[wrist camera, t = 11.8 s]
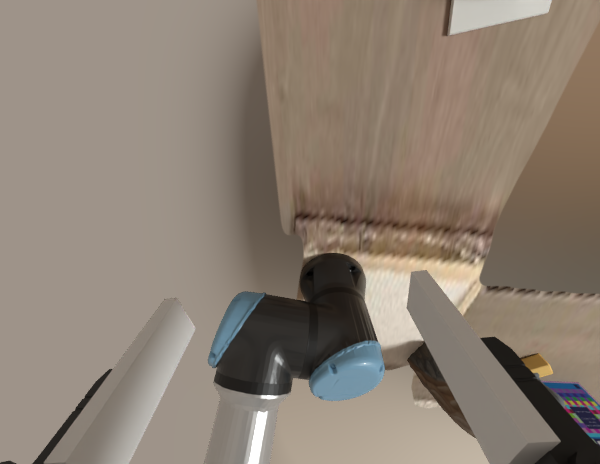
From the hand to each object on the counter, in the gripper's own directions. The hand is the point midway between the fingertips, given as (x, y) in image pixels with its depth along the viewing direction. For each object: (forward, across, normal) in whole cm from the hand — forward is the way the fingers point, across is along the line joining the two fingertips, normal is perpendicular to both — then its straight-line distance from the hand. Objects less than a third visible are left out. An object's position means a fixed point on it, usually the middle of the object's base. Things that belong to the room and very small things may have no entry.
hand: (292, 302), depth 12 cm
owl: (+31, -30, +61) cm, 75 cm away
